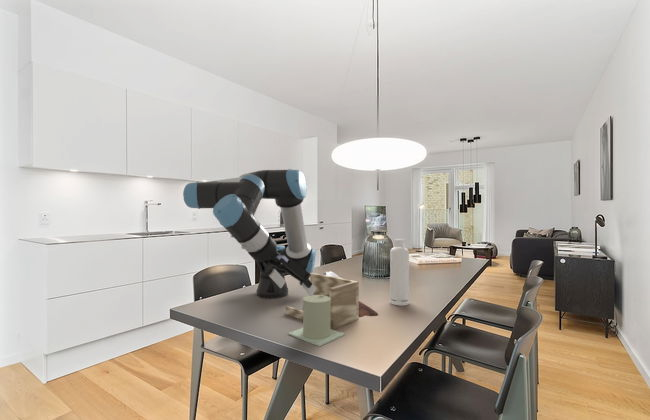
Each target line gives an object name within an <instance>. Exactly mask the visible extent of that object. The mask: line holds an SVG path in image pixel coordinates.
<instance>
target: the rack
mask: <svg viewBox="0 0 650 420" xmlns="http://www.w3.org/2000/svg"><path fill="white" fill-rule="evenodd" d="M310 274H311V276H310V277H309V280H310V281H311V282H312V284H313V285H314V286H315V287H316V288H317V289H316V290H315V292H314V294H313V295H325V296H328V297H330V298H331V301H330V329H332V330H335V329H338V328H340V327H343V326H345V325H347V324H350V323H351V322H354V321H357V320H359V318H360V317H359V301H360V299H359V298H360V296H359V295H360V293H359V292H360V289H359V288H360V287H359V286H360V285H359V284H360V283H359V282H360V281H356V280H354V279H353V280H351V279H346V278H342V277H340V278H337V277H332V276H326V275H323V274H319V273H314V272H312V273H310ZM285 314H286V315H288V316H290V317H293V318H295V319H296V318H297V319H298V320H299V319H300V320H302V321H303V309H300V308H296V307H293V306H290V305H287V306H286V307H285Z"/></svg>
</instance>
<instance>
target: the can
mask: <svg viewBox="0 0 650 420" xmlns="http://www.w3.org/2000/svg"><path fill="white" fill-rule="evenodd" d="M330 301H331V298H330V297H328V296H325V295H312V296H310V295H309V294H308V295H307V296H304V297H303V298H302V307H303V309H302V310H303V320H302V323H303V324H302V325H303V326H302V328H303V335H304V336H305V337H307V338H310V339H323V338H326V337H328V336H330V334H331V331H330Z"/></svg>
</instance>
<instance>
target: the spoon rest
mask: <svg viewBox="0 0 650 420" xmlns="http://www.w3.org/2000/svg"><path fill="white" fill-rule="evenodd" d="M322 275H326V276H332V277H337V278H341V277H340V276H339V275H337V274H336V273H335V272H333V271H332V270H331V271H324V272H323V273H322Z"/></svg>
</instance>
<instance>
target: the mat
mask: <svg viewBox="0 0 650 420" xmlns="http://www.w3.org/2000/svg"><path fill="white" fill-rule="evenodd" d="M330 331H331V334H330V336H328V337H326V338H323V339H310V338H307V337H305V336H304V335H303V327H300V328H299V329H296V330H295V329H294V330H293V331H290V332H288V335H289V336H291V337H293V338H294V337H295V338H297V339H299V340H302V341H305V342H306V343H309V344H312V345H315V346H317V347H322V346H324V345H327V344H328V343H332V342H333V341H336V340H337V339H339V338H342V337H344V336H345V333H344V332H341V331H338V330H335V329H333V330H332V329H330Z"/></svg>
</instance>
